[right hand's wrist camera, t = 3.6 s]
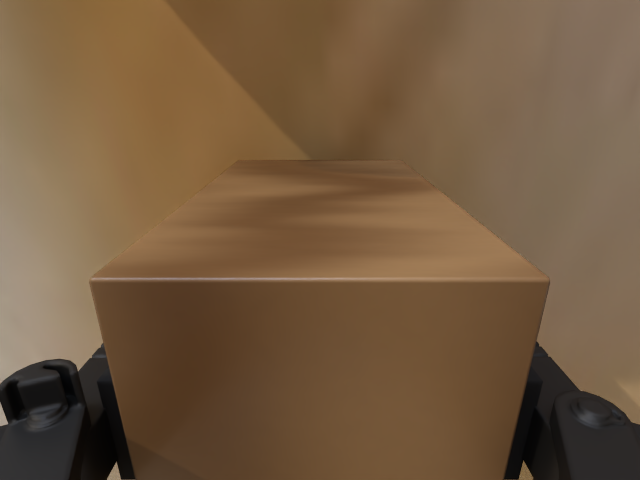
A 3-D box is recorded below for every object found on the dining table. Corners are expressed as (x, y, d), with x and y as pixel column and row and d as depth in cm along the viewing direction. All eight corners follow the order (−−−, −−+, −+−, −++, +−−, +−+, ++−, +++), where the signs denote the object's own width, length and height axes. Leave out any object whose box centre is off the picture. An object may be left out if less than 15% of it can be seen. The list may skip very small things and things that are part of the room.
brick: (402, 160, 17) (553, 278, 6) (391, 313, 20) (480, 588, 9) (237, 160, 17) (85, 278, 6) (248, 313, 20) (159, 588, 9)
